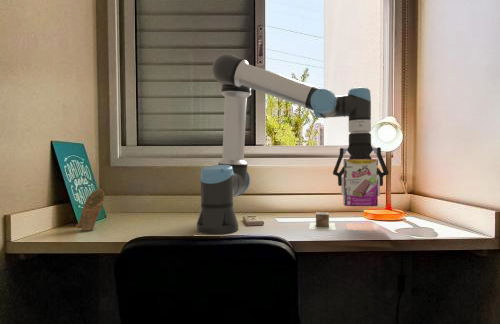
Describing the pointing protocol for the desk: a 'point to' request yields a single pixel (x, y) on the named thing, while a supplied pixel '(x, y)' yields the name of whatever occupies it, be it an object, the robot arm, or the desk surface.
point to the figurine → (91, 210)
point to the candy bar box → (360, 182)
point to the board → (350, 227)
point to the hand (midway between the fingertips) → (360, 195)
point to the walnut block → (322, 219)
